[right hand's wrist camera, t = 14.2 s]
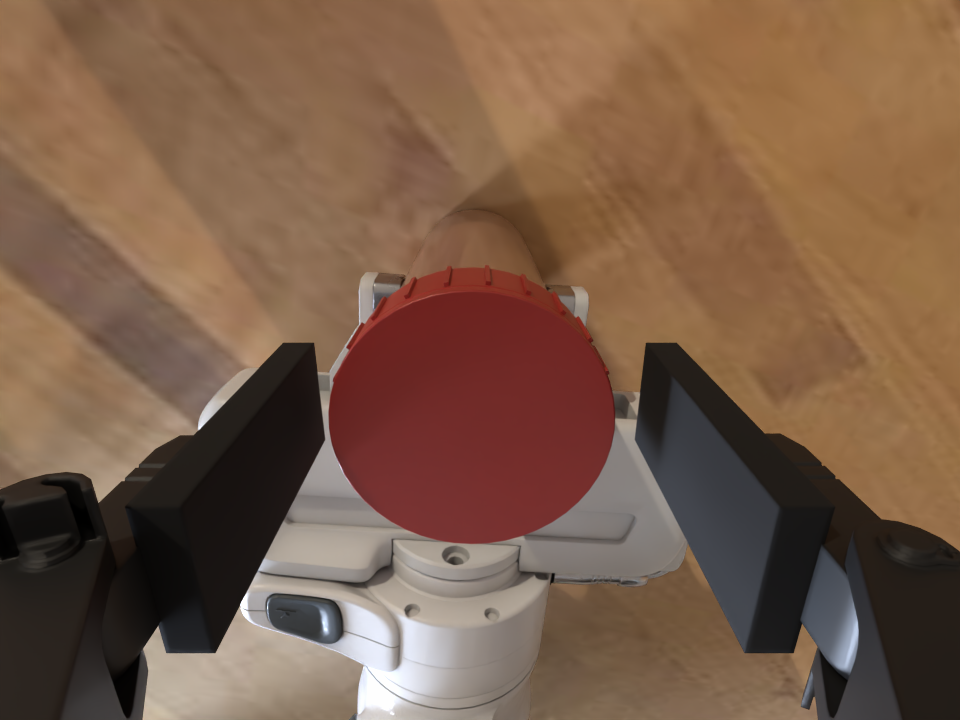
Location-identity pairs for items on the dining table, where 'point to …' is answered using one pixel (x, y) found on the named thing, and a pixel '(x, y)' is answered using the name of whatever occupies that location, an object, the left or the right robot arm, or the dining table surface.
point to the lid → (472, 407)
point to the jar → (474, 246)
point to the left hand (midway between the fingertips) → (474, 282)
